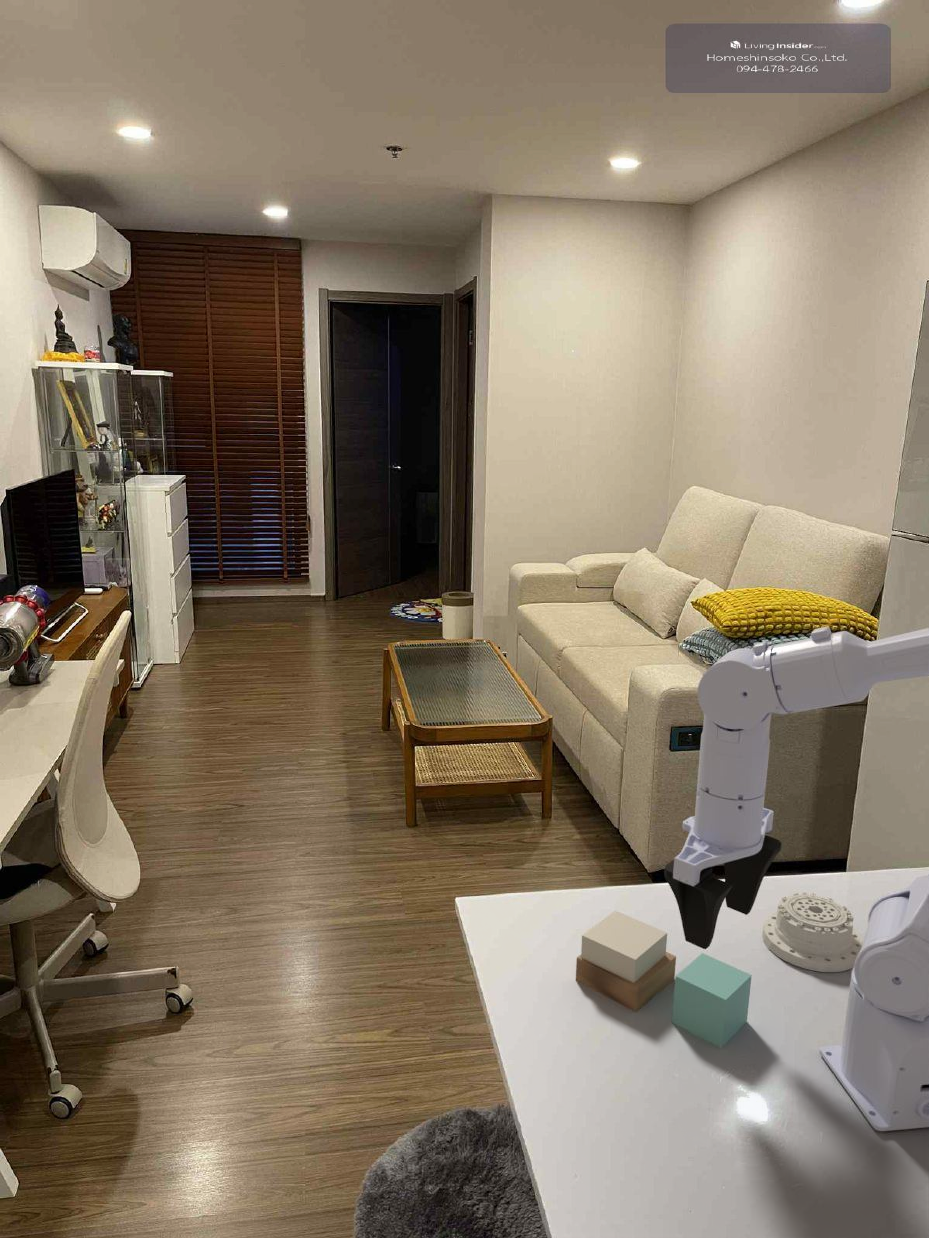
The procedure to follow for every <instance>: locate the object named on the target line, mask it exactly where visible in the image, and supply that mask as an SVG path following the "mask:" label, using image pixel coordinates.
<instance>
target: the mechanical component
mask: <svg viewBox="0 0 929 1238" xmlns="http://www.w3.org/2000/svg"><path fill="white" fill-rule="evenodd" d="M776 911H777V912H774V913H771V914H770V915H769V916H768V917H767V918H766V920H764V922H763V929H762V940H763V941H764V944H765V945H766V947H767V949H768V950H770V951H771V952H772V953H773V954H774V955H775V956H776V957H778V958H780V959H781V960H783V961H785V962H787V963H788V964H790V965H793V966H796V967H798V968H802V969H805V970H810V971H816V972H819V973H820V972H821V973H839V972H845V971H848V970H852V969H853V968H854V966H855V960H856V958H857V956H858V954H859V952H860V950H861V948H862V944H863V941H864V940H863V939H862V938H861V936H860V934H859V933H857V931H856V930H855V929H854V915H852V911H851V910H848V907H847V906H846V905H840V904H838V903H837V902H835V901H834V899H833V898H832V897H828V898H825V897H822V896H819V895H817V894H816V893H813V892H812V893H810V894H808V893H806V892H802V893H801V894H800V893H799V892H794V893H793V895H790V896H787V897H786V896H783V897H781V900H780V901H779V903H778V905H777V910H776Z"/></svg>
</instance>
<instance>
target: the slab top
mask: <svg viewBox="0 0 929 1238" xmlns="http://www.w3.org/2000/svg"><path fill="white" fill-rule="evenodd" d="M667 942H668V932H666V931H664V930H662V929H660V928H657V927H654V926H652V925H650V924H648V923H646V922H642V921H640V920H638V919H637V918H633V917H631V916H629V915H626V914H624V913H621V912H620V911H617V910H614V911H613V912H611V913H610V914H609V915H607V916H606V917H604V918H603V919H601V921H599V922H597V924H595V925H594V926H592V928H590V929H589V930H587V931H586V932H584V933H583V934H581V947H580V949H581V950H580V951H581V952H580V953H581V954H580V955H581V958H583V959H585V960H587V961H589V962H591V963H593V964H595V965H597V966H599V967H601V968H603V969H605V970H608V971H610V972H612V973H614V974H616V975H618V976H620V977H622V978H624V979H626V980H628V981H631V982H633V983H635V982H636V981H637V980H638V979H639V978H640V977H641V976H643V975H644V974H645V973H646V972H647V971H648V970H649V969H651V968H652V967H653V966H654V965H655V964H656V963H657V962H659V961H660V960H661V959H662V958H663V957H664V956H665V955H666V952H667Z"/></svg>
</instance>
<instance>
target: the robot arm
mask: <svg viewBox="0 0 929 1238" xmlns="http://www.w3.org/2000/svg"><path fill="white" fill-rule="evenodd" d="M928 676H929V627H927V628H923V629H919V630H914V631H909V632H906V633H902V634H897V635H894V636H888V637H885V638H880V639H877V640H873V641H872V640H871V641H867V640H865V639H862V638H861V637H859V636H857V635H855V634H853V633H851V632H849V631H847V630H843V631H837V632H833V633H832V631H831V628H830V627H829V626H825V627H820V628H815V629H813V630H812V632H811V633H810V638H805V639H799V640H794V641H791V642H789V641H788V642H786V643H785V642H784V643H780V644H775V645H769V643H768V641H762V642H758V643H756V644H754V645H753V646H752V648H747V647H746V648H745V647H743V648H736V649H733V650H730V651H728V652H727V653H725V654H724V655H723V656H722V657H720V658H719V659H718V660H717V661H716V662H715V663H714V664H713V665H711V666H710V667H709V668H708V669H707V670H706V671H705V673H704V674H703V675H702V677H700V680H699V683H698V687H697V701H698V704H699V706H700V709H701V710H702V711H701V712H703V722H702V723H703V724H702V726H703V727H702V732H701V734H700V744H699V745H700V747H699V758H698V769H697V771H698V772H697V785H696V786H697V787H696V796H695V811H694V815H693V816H690V817H688V818H686V819H685V820H683V821H682V824H681V825H682V828H681V829H682V830H684V831H685V832H688V835H687V838H686V840H685V843H684V844H683V847H682V849H681V852H679V854H678V855H676V856H675V857H674V858H673V859H672V860H671V861H670V862H667V864H666V865H664V879H665V880H666V882H667V883H668V885H669V887H670V889H671V891H672V894H673V895H674V897H675V900H676V904H677V906H678V910H679V914H680V919H681V925H682V930H683V935H684V939H685V941H686V942H687V943H690V944H691V945H694V946H697V947H698V948H701V949H703V950H706V949H708V948H709V947H710V946H711V944H712V941H713V938H714V935H715V930H716V927H717V921H718V916H719V913H720V911H721V908H722V905H723V903H724V901H725V905H726V907H727V908H728V909H731V910H733V911H736V912H739V913H741V914H744V915H745V916H747V915H749V913H750V912H751V910H752V909H753V906H754V904H755V902H756V899H757V896H758V893H759V891H760V887H761V885H762V882H763V879H764V877H765V876H766V873H767V871H768V869H769V867H770V866H771V864H772V863H773V861H774V860H775V858H776V857H777V855H778V854H779V853H780V852H781V851H782V841H780V840H779V839H778V838H774V837H772V836H769V835H767V833H770V832H771V831H772V830H773V824H774V823H773V821H774V813H775V812H774V810H772V809H769V808H765V797H766V790H767V789H766V788H767V779H768V778H767V777H768V769H769V768H768V766H769V757H770V748H771V747H770V745H771V739H770V731H771V730H770V727H771V718H772V714H779V715H780V714H781V715H788V714H793V713H799V712H805V711H812V710H815V709H816V710H817V709H823V708H829V707H835V706H840V705H841V706H842V705H847V704H851V703H859V702H863V701H864V700H865V699H866V698H867V696H868V695H869V694H870V692H871V690H872V689H873V688H874V685H876V684H879V683H884V682H891V681H897V680H898V681H899V680H907V679H913V678H919V677H920V678H922V677H928ZM722 864H723V866H724V867H723V868H724V880H721V879H719V878H716V873H714V872H713V867H715V866H717V865H718V866H720V865H722ZM867 921H868V922H867V928H866V931H865V933H864V938H863V940H862V941H863V944H862V948H861V950H860V952H859V954H858V956H857V958H856V960H855V966H854V968H851V974H850V975H851V976H850V983H849V989H848V990H849V991H848V996H847V1004H846V1005H847V1006H846V1011H845V1013H846V1014H845V1020H844V1028H843V1036H842V1044H837V1045H835V1044H834V1045H824V1046H820V1047H819V1054H820V1055H821V1057H822V1058H823V1059H824V1062H826V1064H827V1065H828V1066H829V1068H830V1070H831V1071H832V1073H833V1074H834V1075H835V1076H836V1078H837V1079H838V1081H839V1082H840V1084H842V1086H843V1088H844V1089H845V1090H846V1092H847V1093H848V1095H849V1096H850V1098H851V1099H852V1100H853V1101H854V1102H855V1104H856V1106H857V1107H858V1108H859V1110H860V1111H861V1112H862V1114H863V1115H864V1117H865V1118H866V1120H867V1121H868V1122H869V1124H870V1125H871V1126H872V1128H873V1129H874V1130H875V1131H878V1132H888V1131H898V1130H899V1131H901V1130H910V1129H911V1130H912V1129H920V1128H921V1129H922V1128H929V874H925V875H921V876H919V877H916V878H915V879H914V880H913V881H912V882H911V883H910V884H909V885H908V886H906V887H905V888H903V889H900V890H897V891H893V892H889V893H887V894H885V895H882V896H881V897H880V898H878V899H877V900H876V901H874V902H873V904H872V906H871V908H870V910H869V913H868V920H867Z"/></svg>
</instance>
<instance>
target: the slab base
mask: <svg viewBox="0 0 929 1238" xmlns="http://www.w3.org/2000/svg"><path fill="white" fill-rule="evenodd" d="M676 961H677V956H676V955H674V954H672V953H669V952H667V951H666V955H665V956H664V957H663V958H662V959H661V960H660V961H659V962H657V963H656V964H655V965H654V966H653V967H652V968H651V969H649V970H648V971H647V972H646V973H645V974H644V975H643V976H641V977H640V978H639V979H638V980H637V981H636V982H635V983H633V982H631V981H628V980H626V979H624V978H622V977H620V976H618V975H616V974H614V973H612V972H610V971H608V970H605V969H603V968H601V967H599V966H597V965H595V964H593V963H591V962H589V961H587V960H585V959H583V958H581V954H580V955H578V956H577V957H576V965H575V967H576V968H575V981H576V982H578V983H580V984H582V985H583V986H585V987H587V988H589V989H591V990H593V991H595V992H597V993H599V994H601V995H603V996H604V997H606V998H608V999H610V1000H611V1001H614V1002H615V1003H618V1004H619V1005H621V1006H623V1007H625V1008H628V1009H629V1010H630V1011H633V1012H635V1013H637V1012H638V1011H639V1010H641V1008H643V1007H644V1006H645V1005H646V1004H648V1002H650V1001H651V1000H652V999H653V998H655V997H656V996H657V995H658V994H659V993H660V992H661V991H663V990H664V989H665V988H666V987H667V986H668V985H670V984H671V983H672V982H674V981H675V977H676V964H677V963H676ZM662 989H663V990H662ZM650 999H651V1000H650ZM642 1006H643V1007H642Z"/></svg>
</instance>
